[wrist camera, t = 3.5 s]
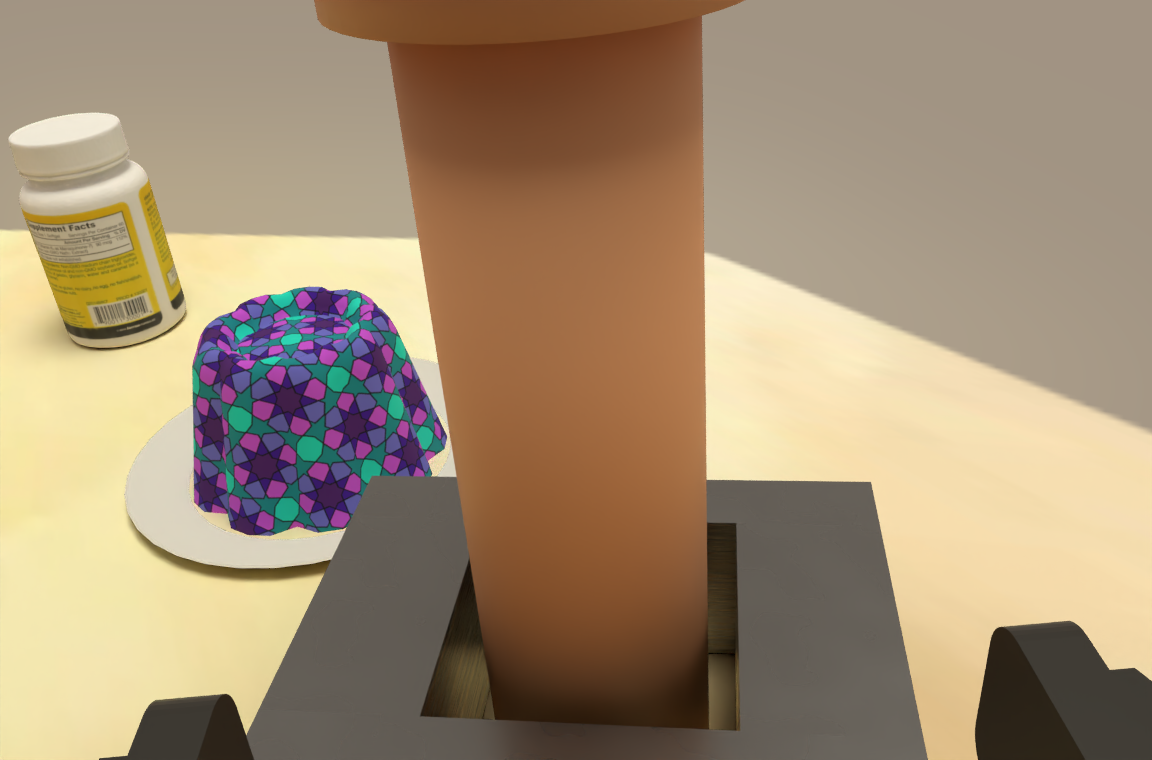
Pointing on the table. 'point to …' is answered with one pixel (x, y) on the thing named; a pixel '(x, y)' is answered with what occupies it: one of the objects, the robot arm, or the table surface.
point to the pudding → (287, 430)
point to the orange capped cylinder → (567, 333)
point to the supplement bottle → (97, 230)
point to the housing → (591, 751)
